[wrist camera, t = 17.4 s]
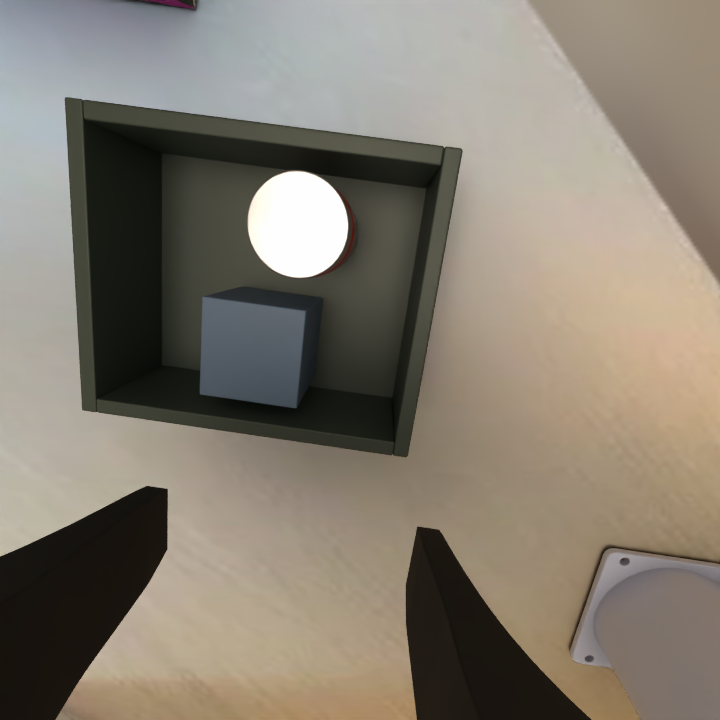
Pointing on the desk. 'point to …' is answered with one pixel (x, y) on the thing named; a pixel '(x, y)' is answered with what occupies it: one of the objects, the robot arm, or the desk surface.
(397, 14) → the desk surface
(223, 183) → the dark olive open box
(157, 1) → the candy bar box
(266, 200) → the can
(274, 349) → the dark blue rectangular block
